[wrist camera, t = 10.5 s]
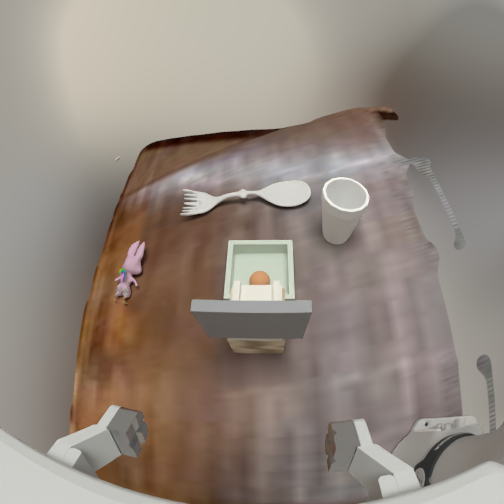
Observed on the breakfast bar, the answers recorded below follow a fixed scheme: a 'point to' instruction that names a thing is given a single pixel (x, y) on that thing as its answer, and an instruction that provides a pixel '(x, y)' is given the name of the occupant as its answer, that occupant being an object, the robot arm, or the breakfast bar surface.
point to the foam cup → (342, 208)
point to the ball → (259, 278)
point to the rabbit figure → (130, 270)
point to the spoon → (275, 193)
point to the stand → (257, 342)
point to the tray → (260, 263)
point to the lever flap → (253, 314)
